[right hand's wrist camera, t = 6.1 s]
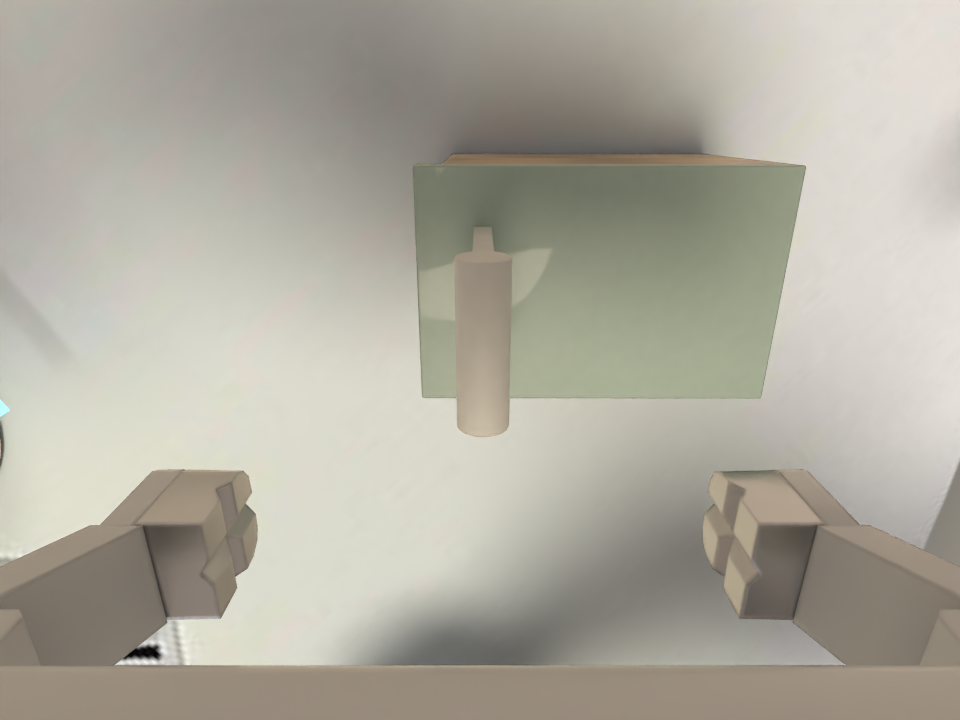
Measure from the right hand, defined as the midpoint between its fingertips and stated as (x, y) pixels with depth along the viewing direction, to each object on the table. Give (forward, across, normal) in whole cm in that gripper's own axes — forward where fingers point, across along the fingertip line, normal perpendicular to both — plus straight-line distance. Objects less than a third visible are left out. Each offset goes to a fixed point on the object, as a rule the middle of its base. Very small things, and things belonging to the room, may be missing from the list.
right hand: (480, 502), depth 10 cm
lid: (+16, +5, 0) cm, 17 cm away
